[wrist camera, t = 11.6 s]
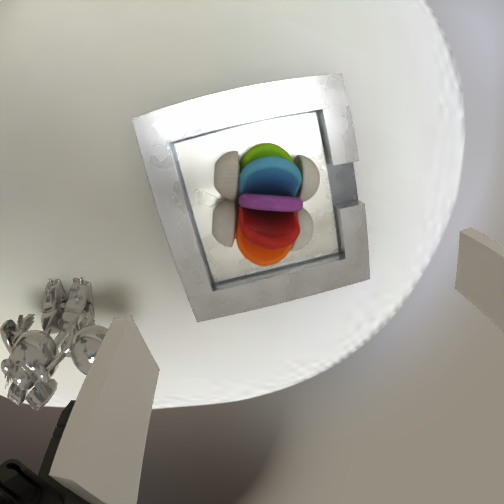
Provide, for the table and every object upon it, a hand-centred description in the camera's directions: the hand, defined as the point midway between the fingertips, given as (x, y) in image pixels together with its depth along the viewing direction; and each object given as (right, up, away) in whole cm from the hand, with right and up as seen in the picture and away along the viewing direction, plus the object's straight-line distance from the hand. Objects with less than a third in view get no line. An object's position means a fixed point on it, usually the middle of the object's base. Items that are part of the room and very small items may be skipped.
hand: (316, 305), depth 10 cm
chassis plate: (-1, +7, +17) cm, 19 cm away
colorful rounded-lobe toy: (-1, +7, +16) cm, 18 cm away
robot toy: (-22, -4, +20) cm, 29 cm away
